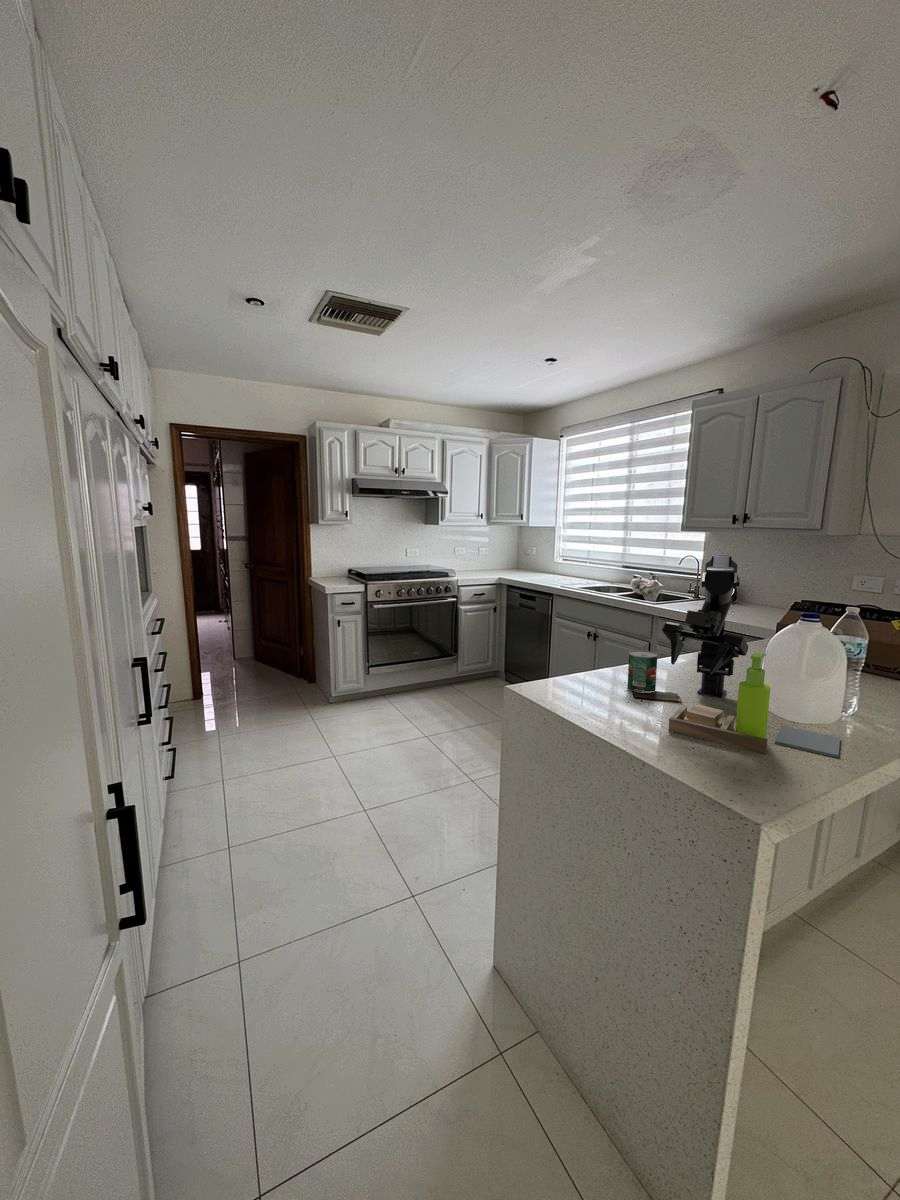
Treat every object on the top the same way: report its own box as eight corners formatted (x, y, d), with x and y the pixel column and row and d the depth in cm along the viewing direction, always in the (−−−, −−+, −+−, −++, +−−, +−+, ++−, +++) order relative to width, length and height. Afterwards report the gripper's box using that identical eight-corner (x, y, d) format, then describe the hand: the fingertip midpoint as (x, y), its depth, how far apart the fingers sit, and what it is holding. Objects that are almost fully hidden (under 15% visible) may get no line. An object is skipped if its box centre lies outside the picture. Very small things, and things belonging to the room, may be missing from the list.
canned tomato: (624, 684, 149) (626, 649, 148) (651, 685, 148) (653, 650, 147) (630, 693, 142) (632, 656, 140) (658, 694, 141) (661, 657, 139)
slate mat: (781, 727, 117) (781, 725, 117) (840, 740, 110) (840, 737, 110) (775, 743, 108) (775, 741, 108) (838, 758, 101) (838, 755, 101)
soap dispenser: (768, 739, 111) (776, 653, 108) (762, 749, 106) (770, 659, 103) (739, 732, 115) (746, 649, 112) (731, 741, 110) (738, 655, 107)
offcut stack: (689, 720, 122) (691, 702, 121) (722, 727, 117) (723, 709, 117) (680, 730, 116) (681, 712, 115) (714, 738, 111) (716, 720, 110)
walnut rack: (681, 716, 124) (682, 705, 124) (772, 737, 112) (773, 724, 111) (668, 730, 116) (669, 718, 115) (765, 754, 103) (766, 741, 103)
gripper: (665, 591, 124) (642, 645, 120) (746, 602, 109) (722, 663, 106) (680, 613, 130) (658, 664, 127) (758, 625, 116) (735, 684, 113)
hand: (690, 668), depth 118 cm, fingers open, 9 cm apart
